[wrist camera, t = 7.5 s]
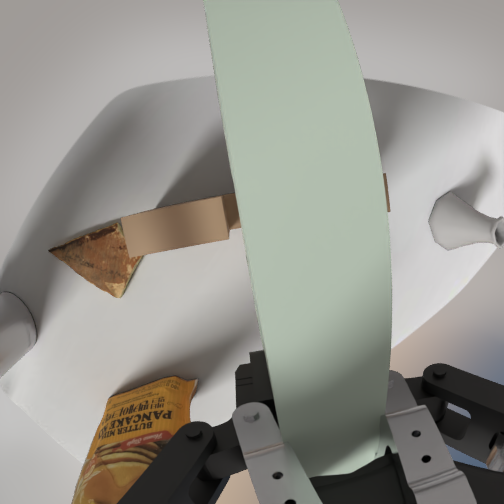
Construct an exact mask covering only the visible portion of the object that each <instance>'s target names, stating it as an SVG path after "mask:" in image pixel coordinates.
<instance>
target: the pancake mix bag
mask: <svg viewBox="0 0 504 504" xmlns="http://www.w3.org/2000/svg"><path fill="white" fill-rule="evenodd" d="M197 384H198V379H194V380H189V381H186V380H184V379H182V378H180V377H177V376H171V377H165V378H162V379H159V380H157V381H154V382H151V383H149V384H146V385H143V386H141V387H138V388H135V389H133V390H130V391H127V392H123V393H120V394H117V395H114V396H112V397H110V398H109V399H108V402H107V405H106V408H105V412H104V415H103V418H102V420H101V422H100V424H99V426H98V428H97V431H96V433H95V436H94V438H93V441H92V443H91V446H90V449H89V452H88V455H87V457H86V460H85V462H84V465H83V467H82V470H81V473H80V476H79V479H78V482H77V484H76V488H75V492H74V496H73V500H72V503H71V504H117V503H118V501H119V500H120V499H121V498H122V497H123V496H124V495H125V493H126V492H127V491H128V490H129V489H130V488H131V486H132V485H133V484H134V483H135V482H136V481H137V479H138V478H139V477H140V476H141V475H142V474H143V472H144V471H145V470H146V469H147V468H148V466H149V465H150V464H151V463H152V462H153V460H154V459H155V458H156V457H157V455H158V454H159V453H160V452H161V451H162V449H163V448H164V447H165V446H166V444H167V443H168V442H169V441H170V439H171V438H172V437H173V436H174V434H175V433H176V432H177V431H178V429H179V428H181V427H182V426H183V425H185V424H187V423H190V422H191V421H190V404H191V400H192V398H193V396H194V395H195V393H196V389H197Z"/></svg>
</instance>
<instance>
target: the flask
mask: <svg viewBox="0 0 504 504" xmlns="http://www.w3.org/2000/svg"><path fill="white" fill-rule="evenodd" d="M428 222H429V225H430V228H431V231H432V234H433V237H434V241H435V242H436V243H438V244H439V245H441V246H442V247H444V248H445V249H447V250H452V249H456V248H459V247H463V246H466V245H471V244H475V243H492V244H494V245H496V246H497V247H498V248H499V249H501V248H502V247H503V246H504V218H503V217H502V216H501V217H499V218H498V219H496V218H491V217H489V216H486V215H484V214H482V213H480V212H478V211H477V210H476V209H474V208H473V207H471V206H470V205H468V204H467V203H465V202H464V201H463V200H461V199H460V198H459V197H457V196H456V195H454V194H453V193H451V192H449V193H447V194H446V195H444V196H443V197H441V198H440V199H438V200H437V201H436V203H435V205H434V208H433V211H432V213H431V216H430V219H429V221H428Z"/></svg>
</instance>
